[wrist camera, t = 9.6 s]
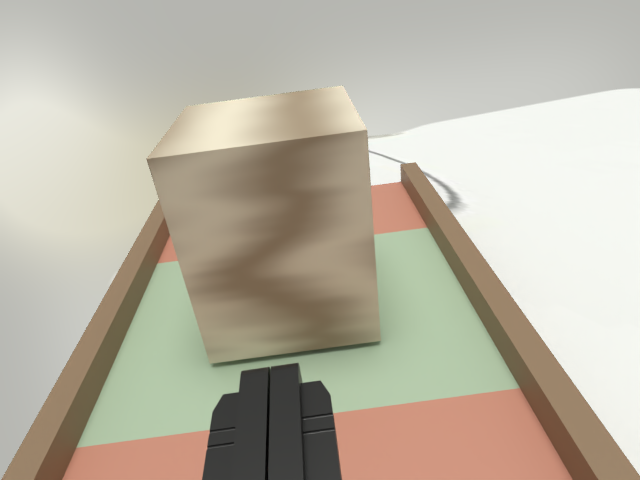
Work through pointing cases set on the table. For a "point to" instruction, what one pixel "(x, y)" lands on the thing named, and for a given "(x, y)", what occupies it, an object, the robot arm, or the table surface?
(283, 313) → the block
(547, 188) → the table surface
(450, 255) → the tray
